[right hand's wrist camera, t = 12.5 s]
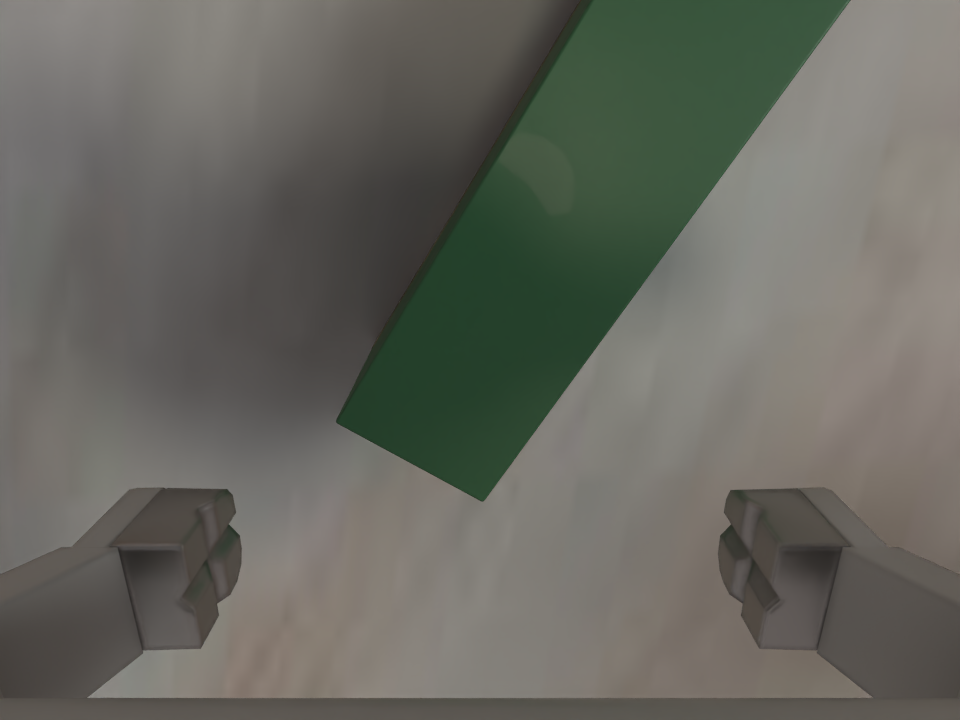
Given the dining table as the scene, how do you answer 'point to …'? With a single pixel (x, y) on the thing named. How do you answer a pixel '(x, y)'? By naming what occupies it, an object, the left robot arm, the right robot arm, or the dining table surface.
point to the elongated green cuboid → (571, 220)
